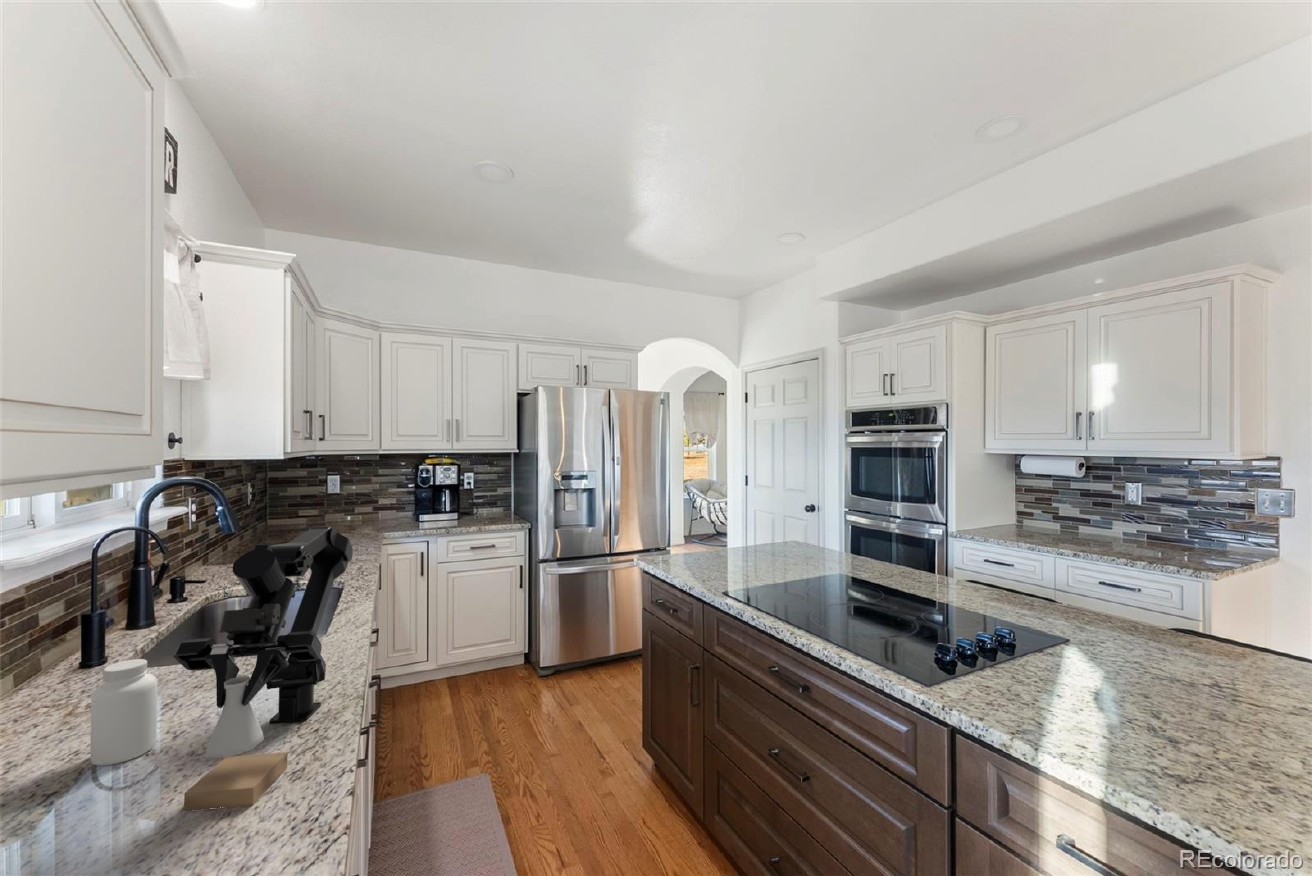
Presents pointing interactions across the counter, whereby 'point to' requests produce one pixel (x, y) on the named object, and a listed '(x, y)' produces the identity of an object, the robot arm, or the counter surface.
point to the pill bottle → (123, 713)
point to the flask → (235, 723)
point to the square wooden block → (236, 782)
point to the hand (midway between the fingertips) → (231, 706)
